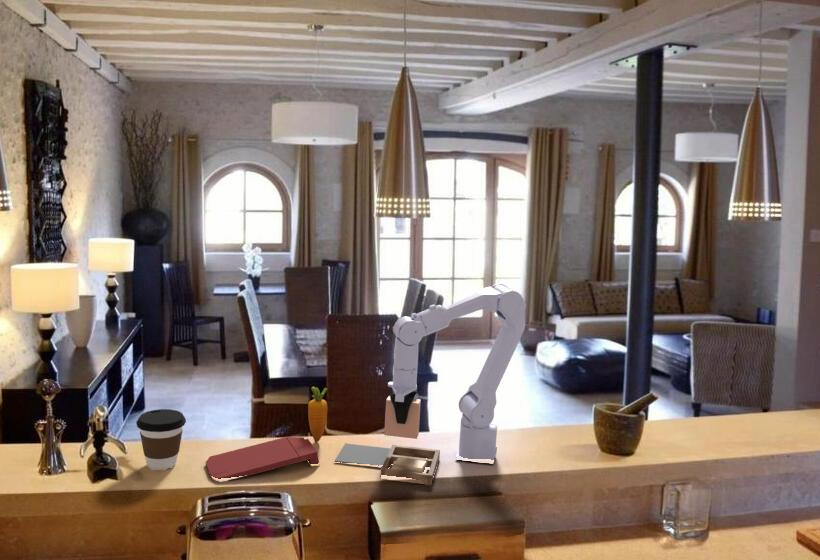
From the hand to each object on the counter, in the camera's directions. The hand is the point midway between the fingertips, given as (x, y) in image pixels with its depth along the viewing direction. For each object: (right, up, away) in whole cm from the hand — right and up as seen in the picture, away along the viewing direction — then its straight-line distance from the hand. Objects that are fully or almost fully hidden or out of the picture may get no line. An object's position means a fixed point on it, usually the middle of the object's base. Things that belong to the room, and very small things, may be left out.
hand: (402, 420), depth 190 cm
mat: (-10, -10, +3) cm, 14 cm away
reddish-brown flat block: (-33, -10, -4) cm, 35 cm away
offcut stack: (+1, -12, -5) cm, 13 cm away
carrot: (-22, -8, +11) cm, 26 cm away
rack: (+2, -11, -2) cm, 12 cm away
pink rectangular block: (0, -4, +1) cm, 4 cm away
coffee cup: (-56, -9, -7) cm, 57 cm away
